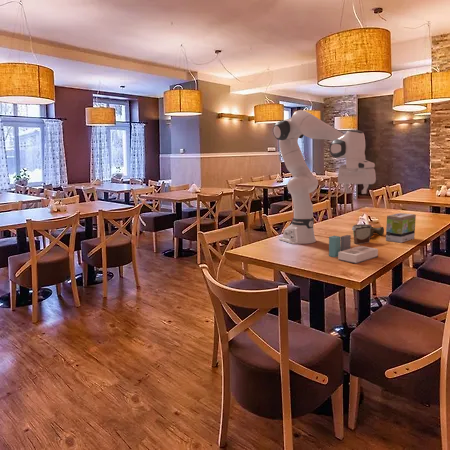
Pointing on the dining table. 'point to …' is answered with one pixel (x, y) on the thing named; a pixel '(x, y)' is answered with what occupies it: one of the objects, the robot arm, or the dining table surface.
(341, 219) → the dining table surface
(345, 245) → the flat tab
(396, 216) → the tea box
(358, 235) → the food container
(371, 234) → the kendama
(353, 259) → the socket block
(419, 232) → the dining table surface
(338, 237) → the square peg
